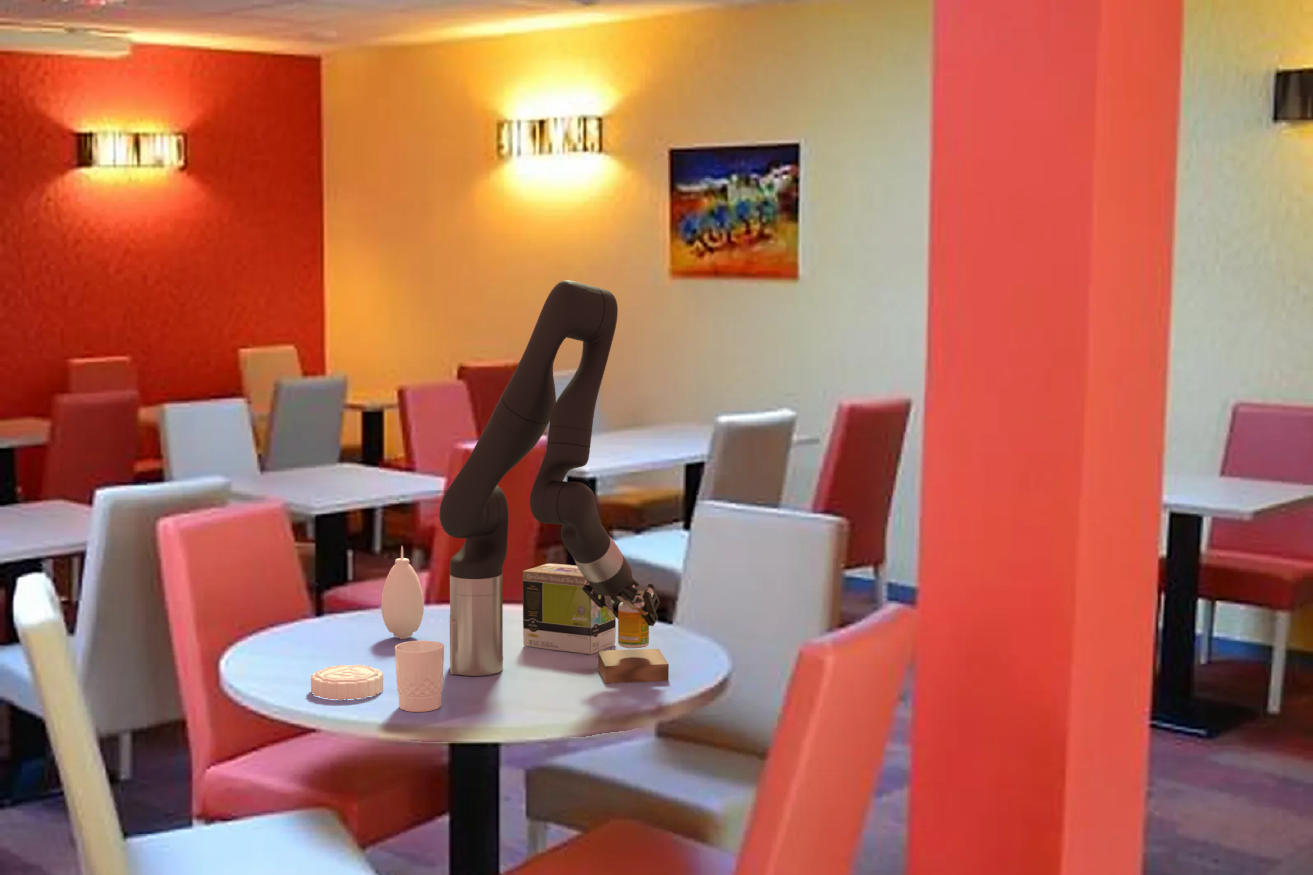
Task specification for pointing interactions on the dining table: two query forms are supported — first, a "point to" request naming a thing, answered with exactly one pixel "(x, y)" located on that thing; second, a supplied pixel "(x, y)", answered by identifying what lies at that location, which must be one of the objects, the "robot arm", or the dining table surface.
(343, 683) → the mooncake
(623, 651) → the walnut plinth
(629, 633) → the supplement bottle
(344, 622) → the dining table surface
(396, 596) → the air blower bulb
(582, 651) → the tea box
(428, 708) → the peach drinking glass
